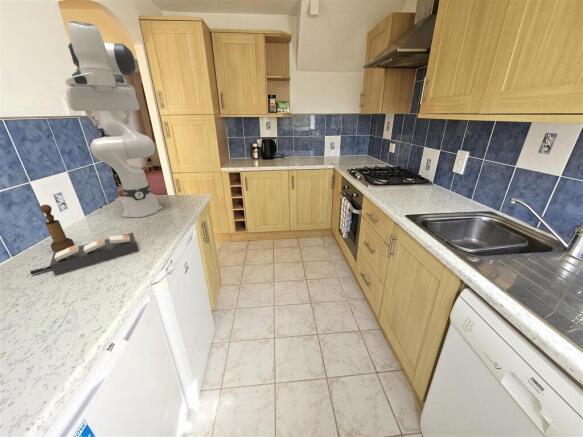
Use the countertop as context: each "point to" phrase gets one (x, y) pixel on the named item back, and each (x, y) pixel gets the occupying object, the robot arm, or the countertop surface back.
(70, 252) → the rocker
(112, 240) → the block
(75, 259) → the power strip
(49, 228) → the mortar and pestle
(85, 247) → the rocker middle
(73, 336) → the countertop surface
